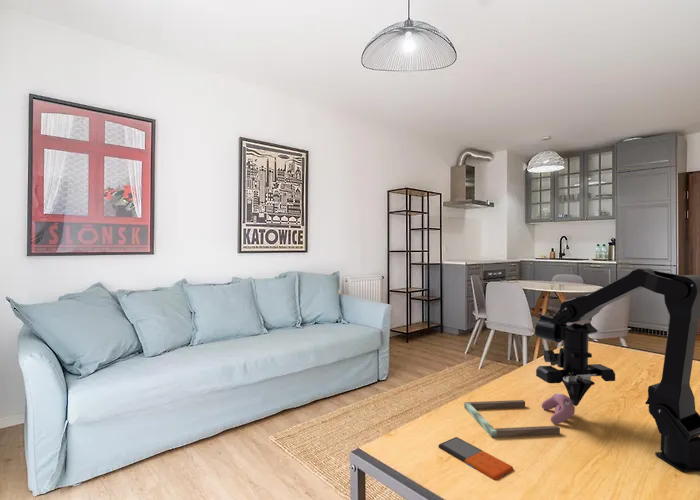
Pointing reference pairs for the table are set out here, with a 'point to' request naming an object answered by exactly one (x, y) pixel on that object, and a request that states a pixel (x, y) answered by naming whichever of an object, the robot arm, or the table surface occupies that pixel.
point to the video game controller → (559, 407)
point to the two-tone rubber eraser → (476, 458)
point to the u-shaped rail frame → (506, 432)
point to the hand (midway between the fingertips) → (574, 405)
